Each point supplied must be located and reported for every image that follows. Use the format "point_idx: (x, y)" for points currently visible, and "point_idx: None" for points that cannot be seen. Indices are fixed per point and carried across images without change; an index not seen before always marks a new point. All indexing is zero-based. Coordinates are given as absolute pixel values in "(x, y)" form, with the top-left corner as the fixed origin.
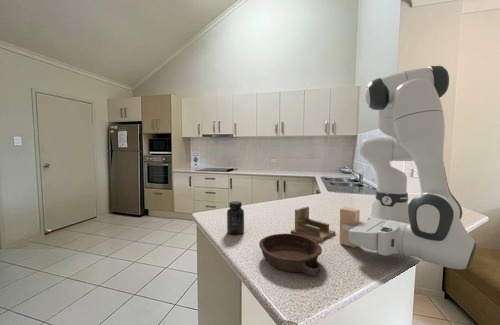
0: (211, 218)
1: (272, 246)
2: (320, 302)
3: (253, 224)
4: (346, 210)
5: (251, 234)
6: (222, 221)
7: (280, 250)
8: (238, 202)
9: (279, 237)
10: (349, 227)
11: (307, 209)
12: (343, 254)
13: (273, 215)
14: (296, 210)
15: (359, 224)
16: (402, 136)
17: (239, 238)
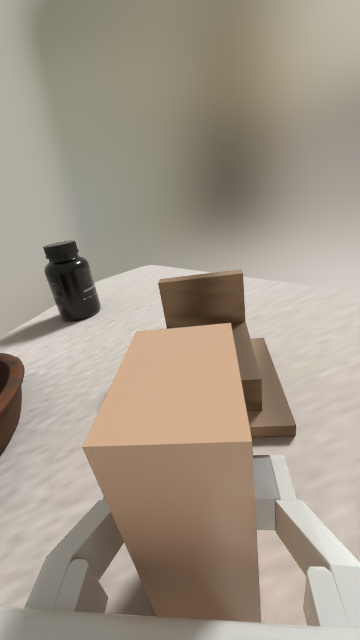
0: (127, 273)
1: None
2: None
3: (149, 301)
4: (120, 371)
5: (86, 327)
6: (124, 283)
7: None
8: (60, 244)
9: (1, 368)
10: (85, 528)
11: (230, 283)
12: None
13: (244, 283)
14: (159, 283)
15: (94, 621)
16: None
17: (51, 330)
